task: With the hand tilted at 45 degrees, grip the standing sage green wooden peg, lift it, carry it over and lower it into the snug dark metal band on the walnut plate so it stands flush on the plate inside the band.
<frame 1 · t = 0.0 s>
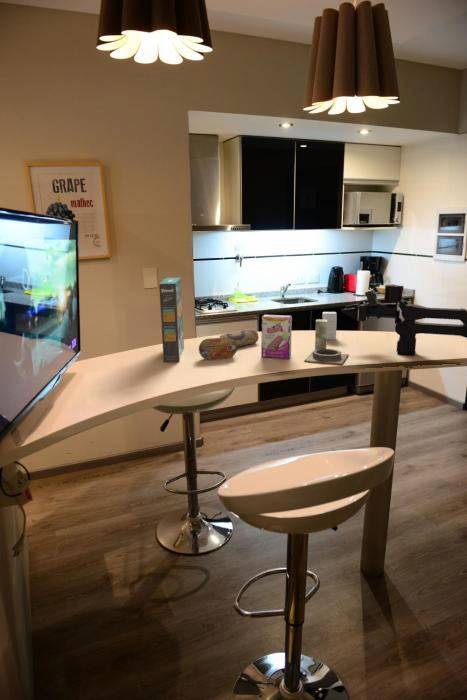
hand: (343, 309, 188), 17 cm above the breakfast bar, tool horizontal, fingers open, 9 cm apart
beige packaged roll: (232, 347, 198), on the breakfast bar
peg: (320, 350, 190), on the breakfast bar
skincare box: (328, 339, 210), on the breakfast bar
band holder: (326, 358, 177), on the breakfast bar
candy bar box: (276, 357, 181), on the breakfast bar
cake mix box: (174, 355, 187), on the breakfast bar
brown printed food package: (218, 358, 181), on the breakfast bar
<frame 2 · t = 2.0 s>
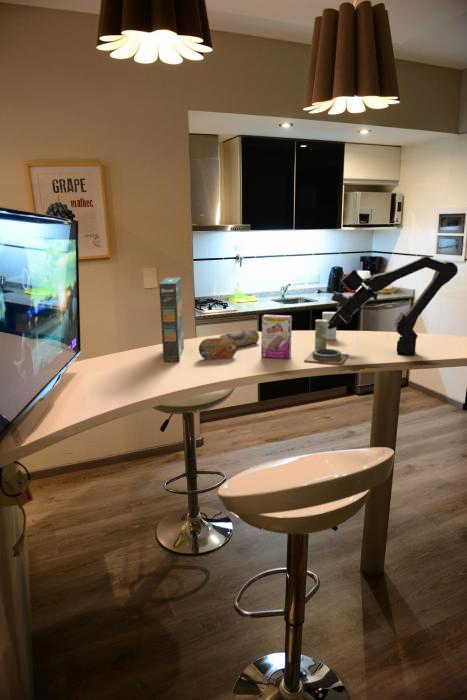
hand: (328, 326, 186), 10 cm above the breakfast bar, tool tilted 45°, fingers open, 9 cm apart
nothing on the breakfast bar moved.
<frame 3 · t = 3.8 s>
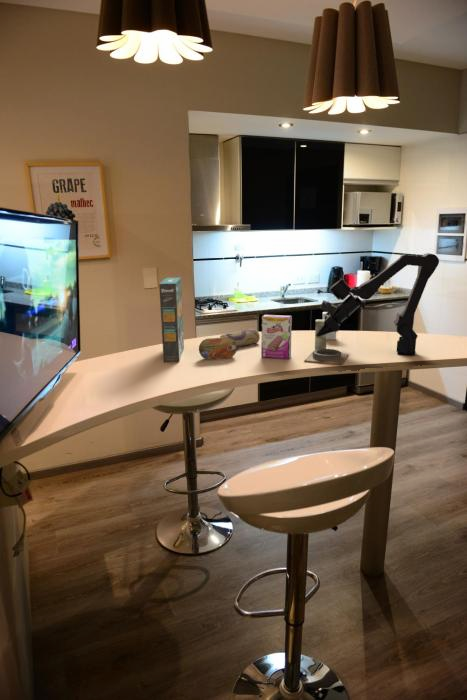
hand: (317, 334, 188), 7 cm above the breakfast bar, tool tilted 45°, fingers closed on peg, 4 cm apart
peg: (320, 350, 190), on the breakfast bar, touching gripper
everything else where it was.
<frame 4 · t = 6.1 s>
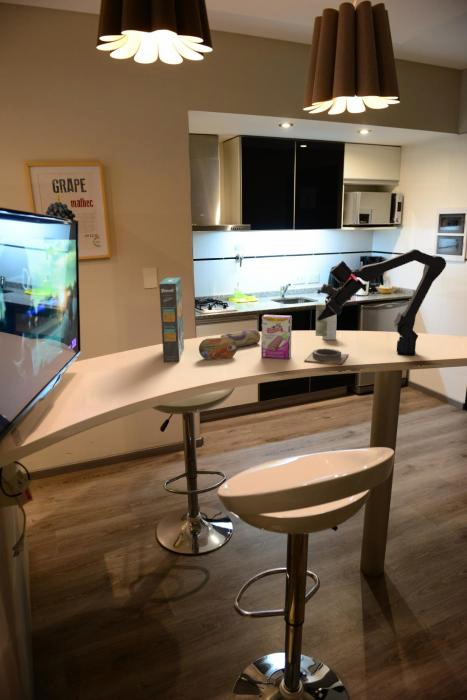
hand: (318, 318, 185), 14 cm above the breakfast bar, tool tilted 45°, fingers closed on peg, 4 cm apart
peg: (321, 334, 186), point 7 cm above the breakfast bar, touching gripper
everything else where it was.
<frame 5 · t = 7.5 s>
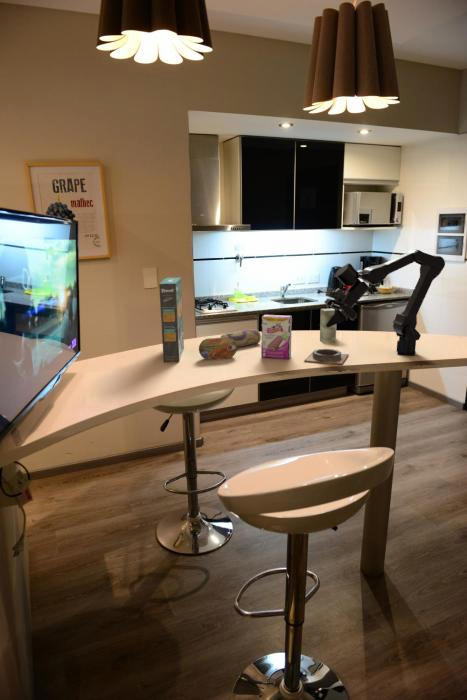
hand: (324, 325, 174), 13 cm above the breakfast bar, tool tilted 45°, fingers closed on peg, 4 cm apart
peg: (327, 342, 175), point 7 cm above the breakfast bar, touching gripper
everything else where it was.
when the fingers open (9 cm above the breakfast bar, at t = 8.7 s): peg drops 2 cm, resting on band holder.
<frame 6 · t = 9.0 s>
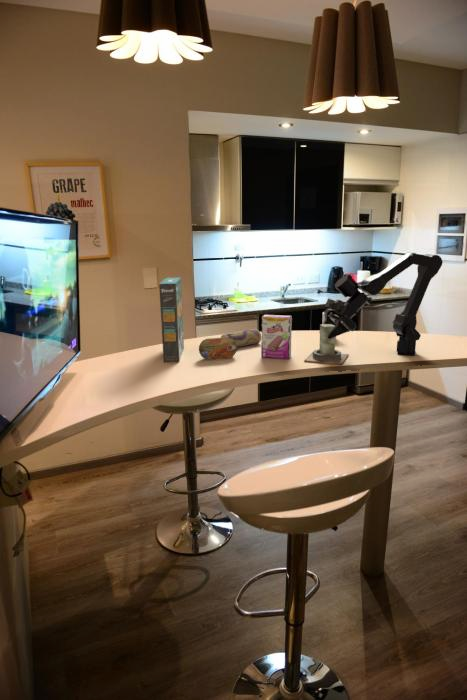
hand: (324, 335, 175), 9 cm above the breakfast bar, tool tilted 45°, fingers open, 8 cm apart
peg: (326, 357, 177), point 1 cm above the breakfast bar, touching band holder
everything else where it was.
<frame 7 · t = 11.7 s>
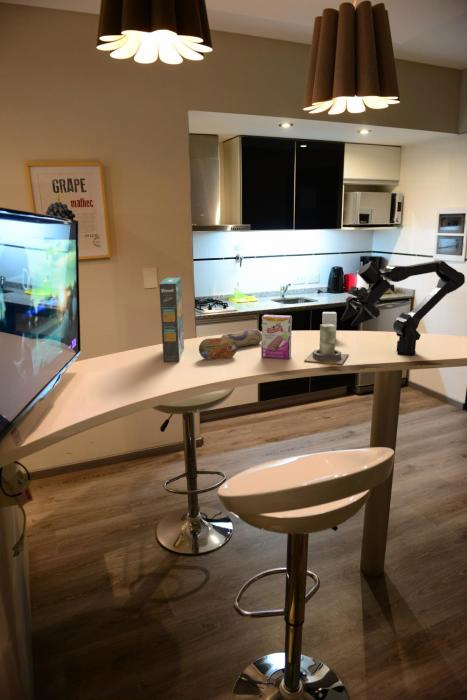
hand: (346, 323, 175), 14 cm above the breakfast bar, tool tilted 45°, fingers open, 9 cm apart
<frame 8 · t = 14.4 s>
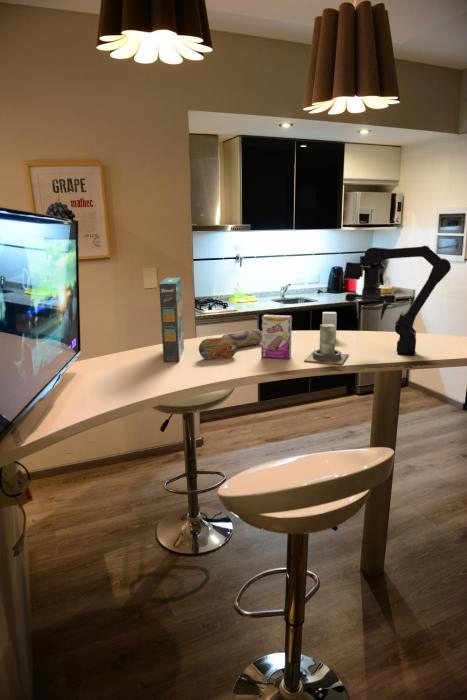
hand: (369, 319, 185), 13 cm above the breakfast bar, tool pointing down, fingers open, 9 cm apart
at the end: peg 0.0 cm off-centre on the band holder, point 0.6 cm above the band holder's base; peg tilted 0°; the gripper is holding nothing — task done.
